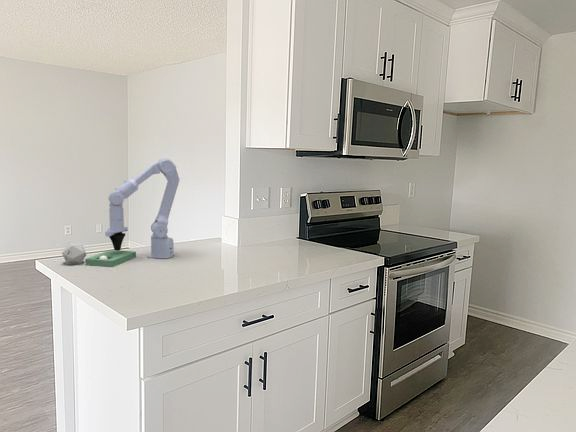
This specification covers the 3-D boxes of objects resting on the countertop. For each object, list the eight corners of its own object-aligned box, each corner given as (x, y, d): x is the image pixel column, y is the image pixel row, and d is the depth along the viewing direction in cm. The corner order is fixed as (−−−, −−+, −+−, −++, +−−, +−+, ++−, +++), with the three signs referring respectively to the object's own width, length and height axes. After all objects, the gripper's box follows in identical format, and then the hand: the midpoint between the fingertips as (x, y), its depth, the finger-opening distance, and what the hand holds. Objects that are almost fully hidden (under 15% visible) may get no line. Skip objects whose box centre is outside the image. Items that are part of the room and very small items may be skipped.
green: (136, 257, 203) (136, 251, 203) (112, 267, 185) (112, 261, 184) (111, 255, 205) (111, 249, 205) (85, 264, 187) (85, 259, 186)
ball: (109, 263, 190) (109, 255, 190) (105, 265, 187) (105, 256, 186) (101, 262, 190) (101, 254, 190) (97, 264, 187) (97, 256, 186)
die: (59, 264, 190) (55, 248, 183) (76, 250, 196) (72, 234, 189) (76, 272, 188) (72, 257, 181) (91, 259, 194) (89, 243, 188)
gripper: (117, 216, 204) (118, 246, 206) (98, 221, 190) (99, 252, 192) (131, 217, 203) (132, 247, 205) (113, 221, 189) (114, 253, 191)
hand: (117, 250), depth 199 cm, fingers closed
